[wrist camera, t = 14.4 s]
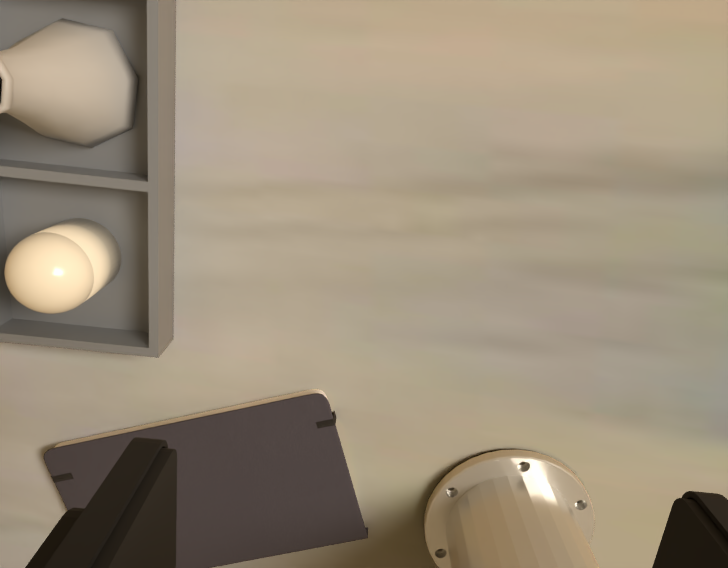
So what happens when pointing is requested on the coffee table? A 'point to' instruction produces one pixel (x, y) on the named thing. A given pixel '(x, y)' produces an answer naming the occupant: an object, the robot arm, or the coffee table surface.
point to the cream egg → (62, 265)
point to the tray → (99, 186)
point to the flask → (69, 83)
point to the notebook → (237, 478)
